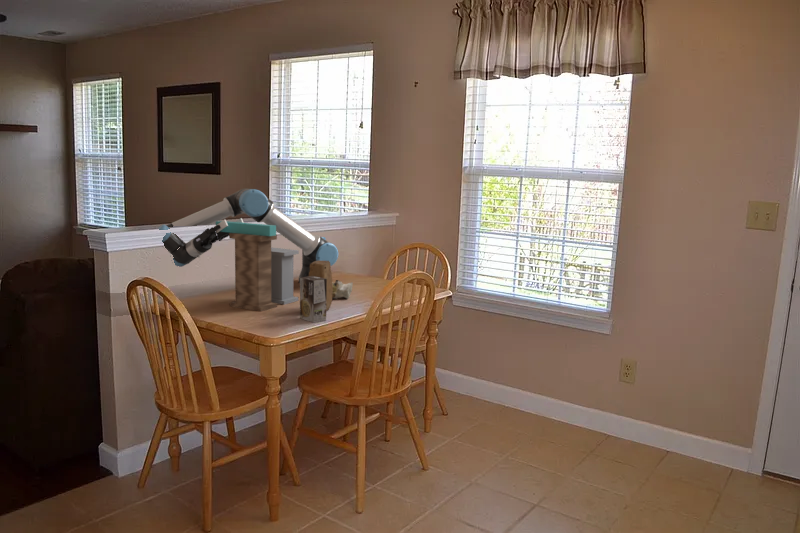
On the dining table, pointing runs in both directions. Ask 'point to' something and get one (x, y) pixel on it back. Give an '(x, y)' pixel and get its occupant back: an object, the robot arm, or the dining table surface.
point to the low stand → (282, 276)
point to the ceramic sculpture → (341, 289)
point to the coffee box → (313, 298)
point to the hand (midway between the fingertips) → (234, 221)
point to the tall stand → (252, 271)
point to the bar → (249, 228)
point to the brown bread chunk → (323, 271)
